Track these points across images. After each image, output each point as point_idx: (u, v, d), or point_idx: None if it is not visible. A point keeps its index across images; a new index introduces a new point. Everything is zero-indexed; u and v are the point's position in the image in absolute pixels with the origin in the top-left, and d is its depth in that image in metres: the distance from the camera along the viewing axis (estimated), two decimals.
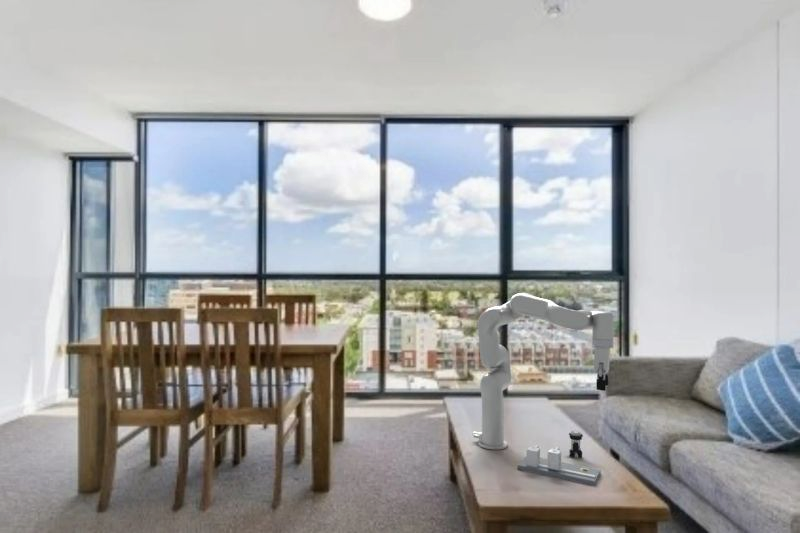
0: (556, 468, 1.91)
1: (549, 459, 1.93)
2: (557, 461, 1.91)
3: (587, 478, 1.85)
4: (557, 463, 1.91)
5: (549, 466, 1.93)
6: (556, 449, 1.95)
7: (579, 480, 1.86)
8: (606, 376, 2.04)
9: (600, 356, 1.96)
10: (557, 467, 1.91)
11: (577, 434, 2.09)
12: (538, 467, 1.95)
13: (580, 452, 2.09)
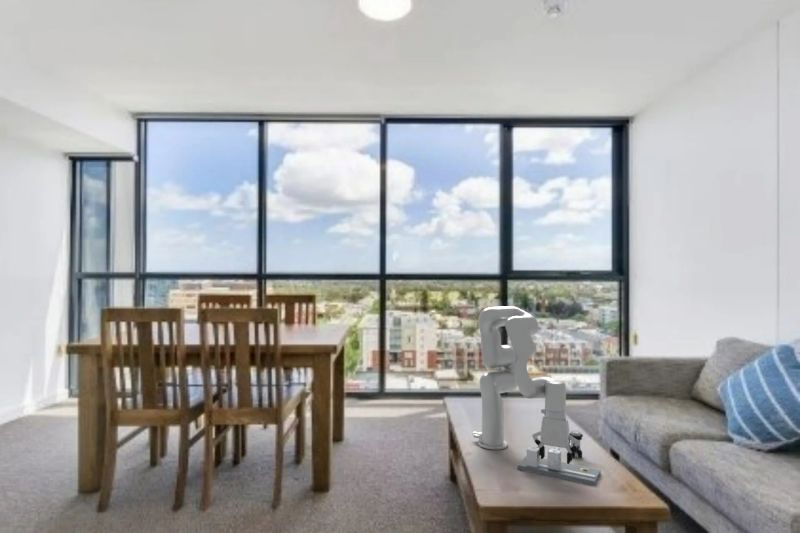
0: (556, 468, 1.91)
1: (549, 459, 1.93)
2: (557, 461, 1.91)
3: (587, 478, 1.85)
4: (557, 463, 1.91)
5: (549, 466, 1.93)
6: (556, 449, 1.95)
7: (579, 480, 1.86)
8: (544, 447, 1.96)
9: (568, 428, 1.91)
10: (557, 467, 1.91)
11: (577, 434, 2.09)
12: (538, 467, 1.95)
13: (580, 452, 2.09)
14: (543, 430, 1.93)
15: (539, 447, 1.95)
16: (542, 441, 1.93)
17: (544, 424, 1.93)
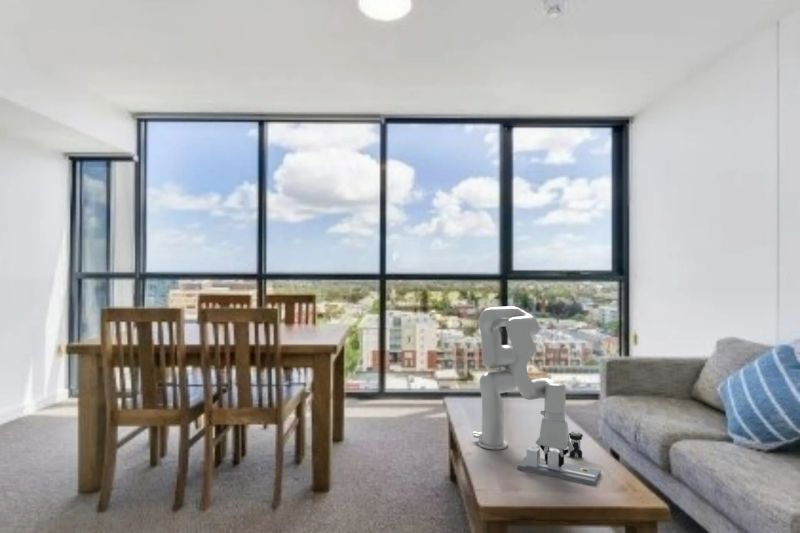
0: (556, 468, 1.91)
1: (549, 459, 1.93)
2: (557, 461, 1.91)
3: (587, 478, 1.85)
4: (557, 463, 1.91)
5: (549, 466, 1.93)
6: (556, 449, 1.95)
7: (579, 480, 1.86)
8: None
9: (567, 430, 1.91)
10: (557, 467, 1.91)
11: (577, 434, 2.09)
12: (538, 467, 1.95)
13: (580, 452, 2.09)
14: (542, 431, 1.93)
15: (545, 453, 1.94)
16: (541, 442, 1.93)
17: (543, 425, 1.93)
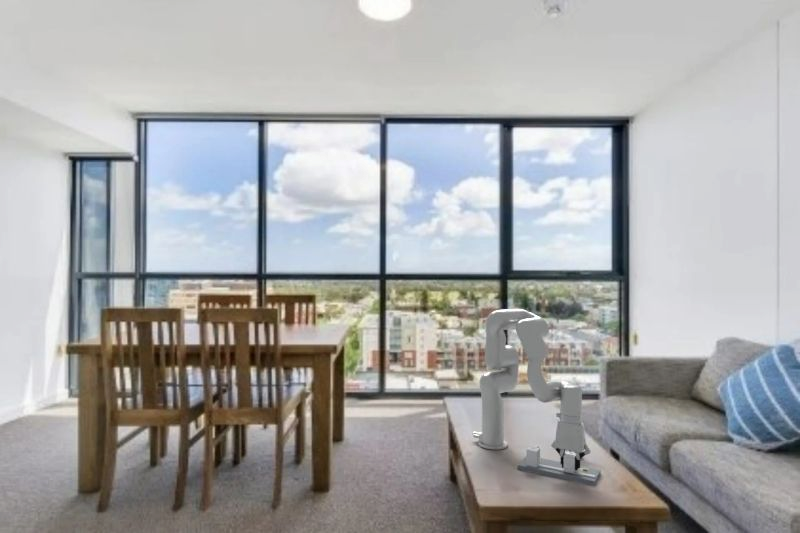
0: (572, 471, 1.88)
1: (565, 462, 1.90)
2: (574, 464, 1.88)
3: (587, 478, 1.85)
4: (573, 466, 1.88)
5: (565, 469, 1.90)
6: (572, 452, 1.93)
7: (579, 480, 1.86)
8: None
9: (584, 432, 1.88)
10: (573, 470, 1.88)
11: None
12: (538, 467, 1.95)
13: None
14: (558, 434, 1.90)
15: (561, 456, 1.91)
16: (557, 445, 1.90)
17: (559, 428, 1.90)
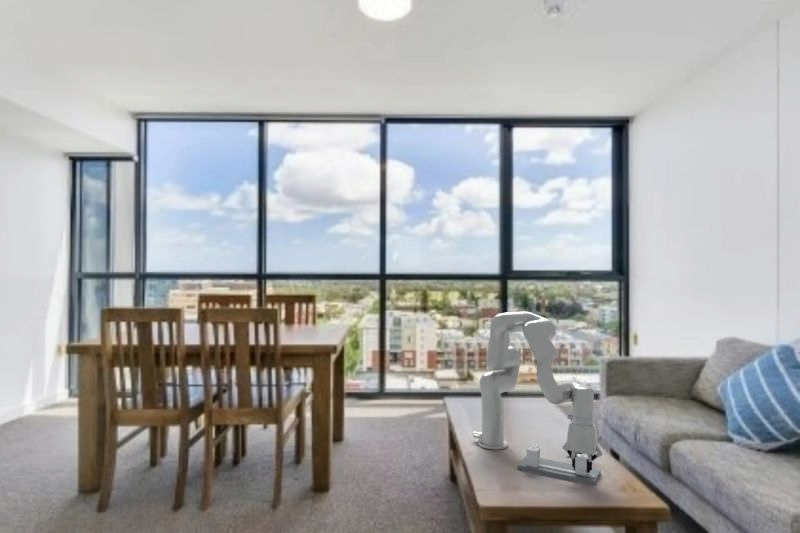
0: (584, 474, 1.86)
1: (577, 465, 1.88)
2: (585, 467, 1.86)
3: (587, 478, 1.85)
4: (585, 469, 1.86)
5: (576, 471, 1.88)
6: (583, 454, 1.90)
7: (579, 480, 1.86)
8: None
9: (596, 434, 1.86)
10: (585, 473, 1.86)
11: None
12: (538, 467, 1.95)
13: None
14: (570, 436, 1.88)
15: (572, 458, 1.89)
16: (568, 447, 1.88)
17: (571, 430, 1.88)
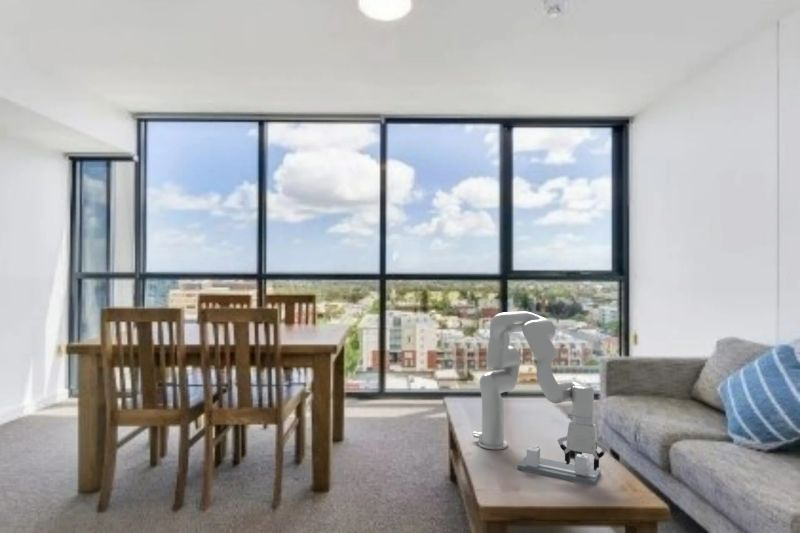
0: (584, 474, 1.86)
1: (577, 465, 1.87)
2: (585, 467, 1.86)
3: (587, 478, 1.85)
4: (585, 469, 1.86)
5: (576, 471, 1.88)
6: (583, 454, 1.90)
7: (579, 480, 1.86)
8: (569, 453, 1.92)
9: (596, 434, 1.86)
10: (585, 473, 1.86)
11: None
12: (538, 467, 1.95)
13: (580, 452, 2.09)
14: (569, 435, 1.88)
15: (565, 452, 1.91)
16: (568, 447, 1.88)
17: (571, 429, 1.88)
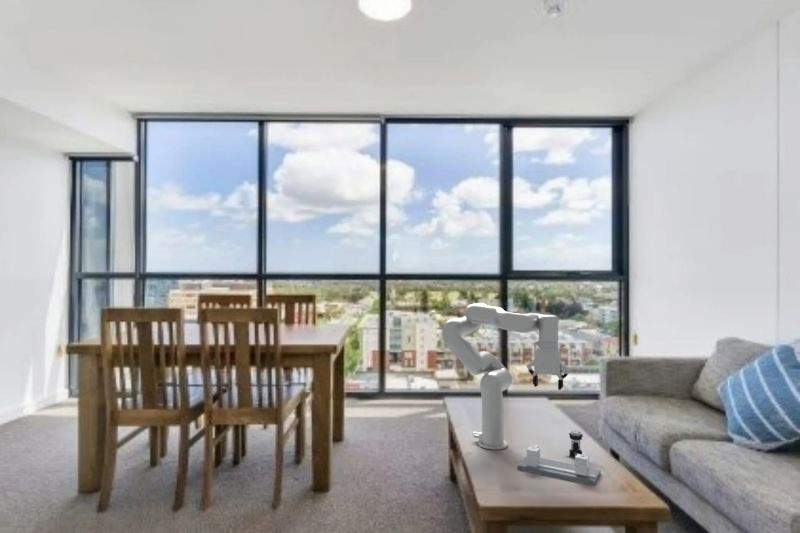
0: (584, 474, 1.86)
1: (577, 465, 1.87)
2: (585, 467, 1.86)
3: (587, 478, 1.85)
4: (585, 469, 1.86)
5: (576, 471, 1.88)
6: (583, 454, 1.90)
7: (579, 480, 1.86)
8: (537, 377, 2.13)
9: (560, 357, 2.07)
10: (585, 473, 1.86)
11: (577, 434, 2.09)
12: (538, 467, 1.95)
13: (580, 452, 2.09)
14: (537, 360, 2.09)
15: (533, 376, 2.11)
16: (535, 370, 2.09)
17: (538, 354, 2.09)
